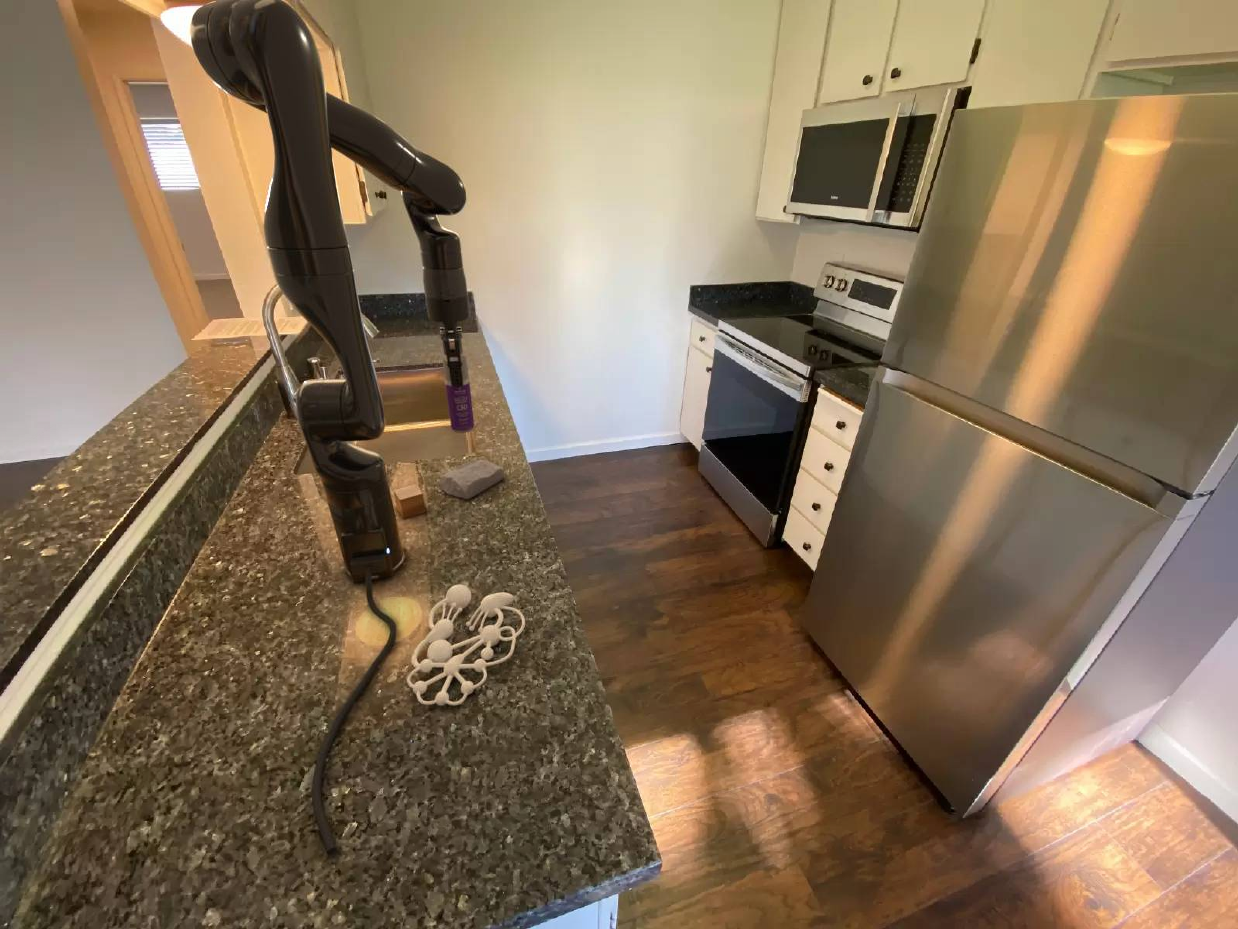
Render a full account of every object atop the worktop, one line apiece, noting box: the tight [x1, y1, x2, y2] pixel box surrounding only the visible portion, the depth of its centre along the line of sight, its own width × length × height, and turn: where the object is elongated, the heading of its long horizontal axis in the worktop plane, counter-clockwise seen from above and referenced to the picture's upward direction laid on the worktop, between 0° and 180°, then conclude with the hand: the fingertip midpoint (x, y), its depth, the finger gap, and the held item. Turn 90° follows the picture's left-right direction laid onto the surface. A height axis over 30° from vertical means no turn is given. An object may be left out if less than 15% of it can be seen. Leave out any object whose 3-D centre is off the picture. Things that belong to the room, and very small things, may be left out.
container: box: [442, 354, 475, 434], centre depth 105 cm, size 5×5×15 cm
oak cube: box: [392, 483, 427, 520], centre depth 104 cm, size 4×4×4 cm
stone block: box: [439, 459, 505, 501], centre depth 114 cm, size 12×5×10 cm
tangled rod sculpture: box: [406, 583, 526, 707], centre depth 73 cm, size 19×14×4 cm
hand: (457, 381), depth 104 cm, fingers closed on container, 4 cm apart
